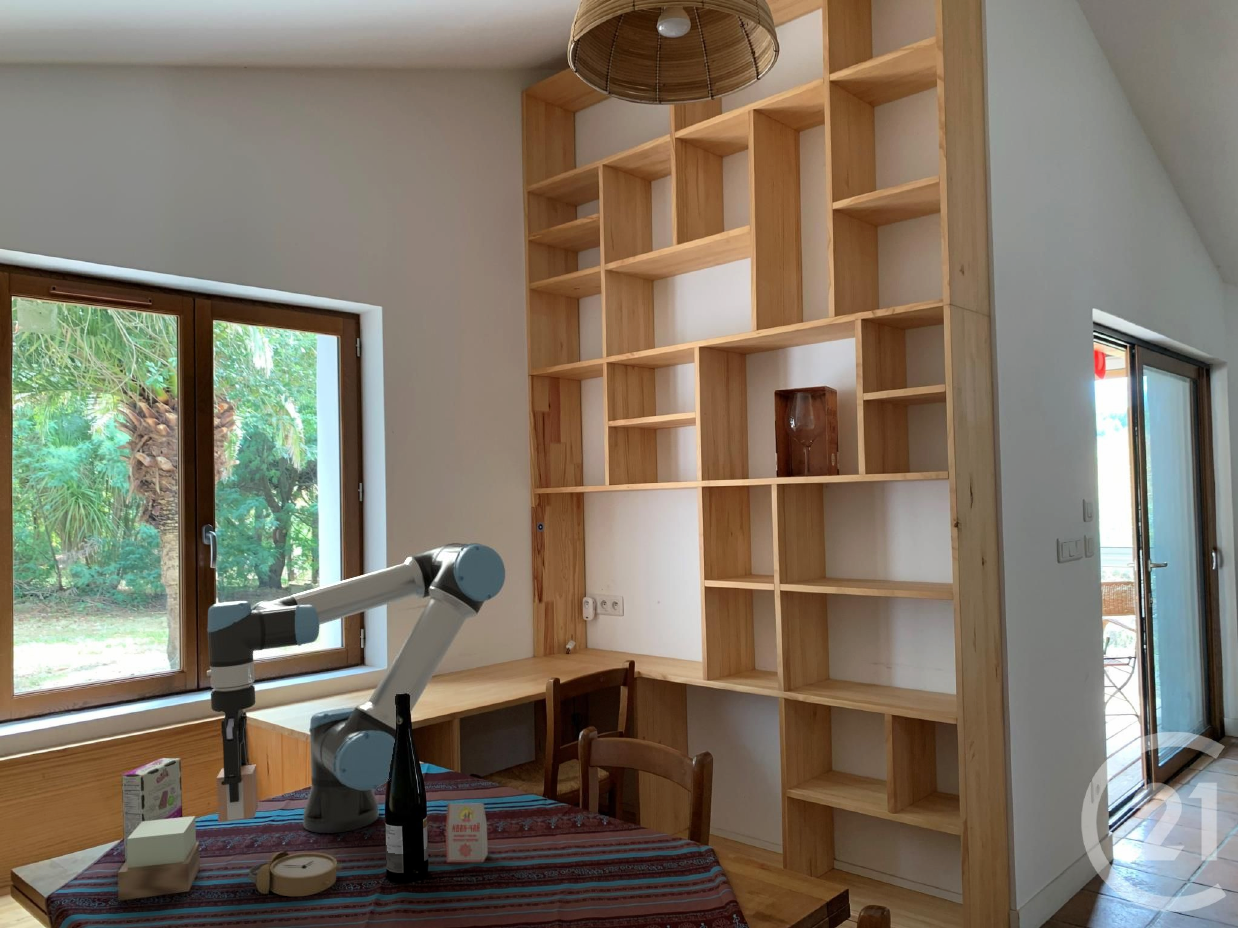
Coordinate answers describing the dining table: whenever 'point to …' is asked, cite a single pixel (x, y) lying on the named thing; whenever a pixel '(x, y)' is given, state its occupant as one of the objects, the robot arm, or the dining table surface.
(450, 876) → the dining table surface
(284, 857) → the alarm clock
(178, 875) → the tower lower
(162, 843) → the tower upper
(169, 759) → the candy bar box
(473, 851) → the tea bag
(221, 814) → the block
